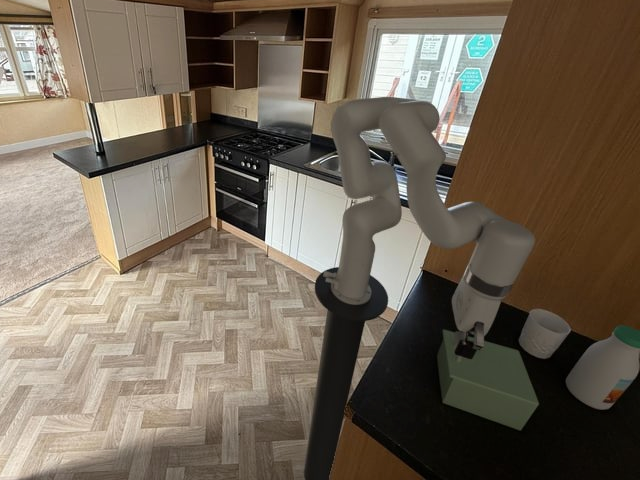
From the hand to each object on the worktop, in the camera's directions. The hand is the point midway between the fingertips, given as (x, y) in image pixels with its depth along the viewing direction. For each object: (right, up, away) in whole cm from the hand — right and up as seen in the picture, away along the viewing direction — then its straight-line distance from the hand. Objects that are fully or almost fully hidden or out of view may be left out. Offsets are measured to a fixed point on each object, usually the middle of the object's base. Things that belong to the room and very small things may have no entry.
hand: (459, 337), depth 69 cm
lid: (+6, -6, 0) cm, 8 cm away
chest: (+6, -14, +4) cm, 16 cm away
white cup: (+29, -9, +14) cm, 33 cm away
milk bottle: (+32, -15, +3) cm, 35 cm away
